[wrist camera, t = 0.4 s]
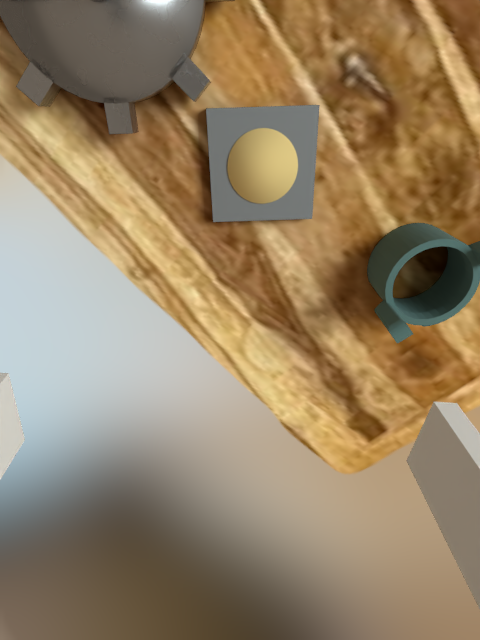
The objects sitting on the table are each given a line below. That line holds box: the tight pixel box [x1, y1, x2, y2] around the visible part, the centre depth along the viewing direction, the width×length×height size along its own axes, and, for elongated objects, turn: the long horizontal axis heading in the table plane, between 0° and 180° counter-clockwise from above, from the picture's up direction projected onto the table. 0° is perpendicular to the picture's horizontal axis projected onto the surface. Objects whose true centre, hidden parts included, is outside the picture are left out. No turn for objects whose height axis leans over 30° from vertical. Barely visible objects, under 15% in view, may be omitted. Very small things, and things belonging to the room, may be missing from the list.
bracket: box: [367, 223, 480, 343], centre depth 34 cm, size 9×9×9 cm
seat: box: [206, 105, 319, 222], centre depth 33 cm, size 9×9×1 cm
